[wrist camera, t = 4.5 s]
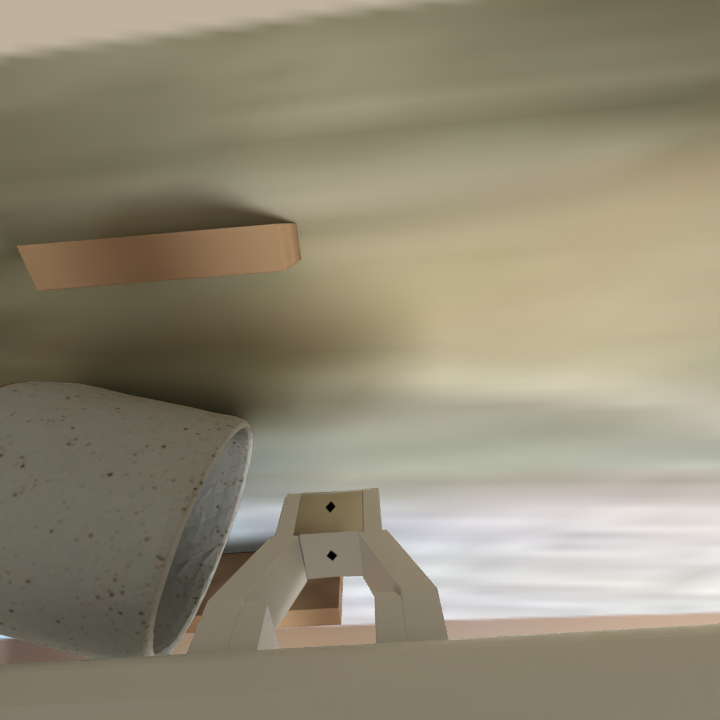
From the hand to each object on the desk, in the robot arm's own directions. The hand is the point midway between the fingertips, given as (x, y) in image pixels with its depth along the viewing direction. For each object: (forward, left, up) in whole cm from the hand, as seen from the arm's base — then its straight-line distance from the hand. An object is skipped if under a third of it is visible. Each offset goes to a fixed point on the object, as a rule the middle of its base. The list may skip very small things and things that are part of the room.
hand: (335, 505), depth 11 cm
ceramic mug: (+8, -1, -5) cm, 9 cm away
